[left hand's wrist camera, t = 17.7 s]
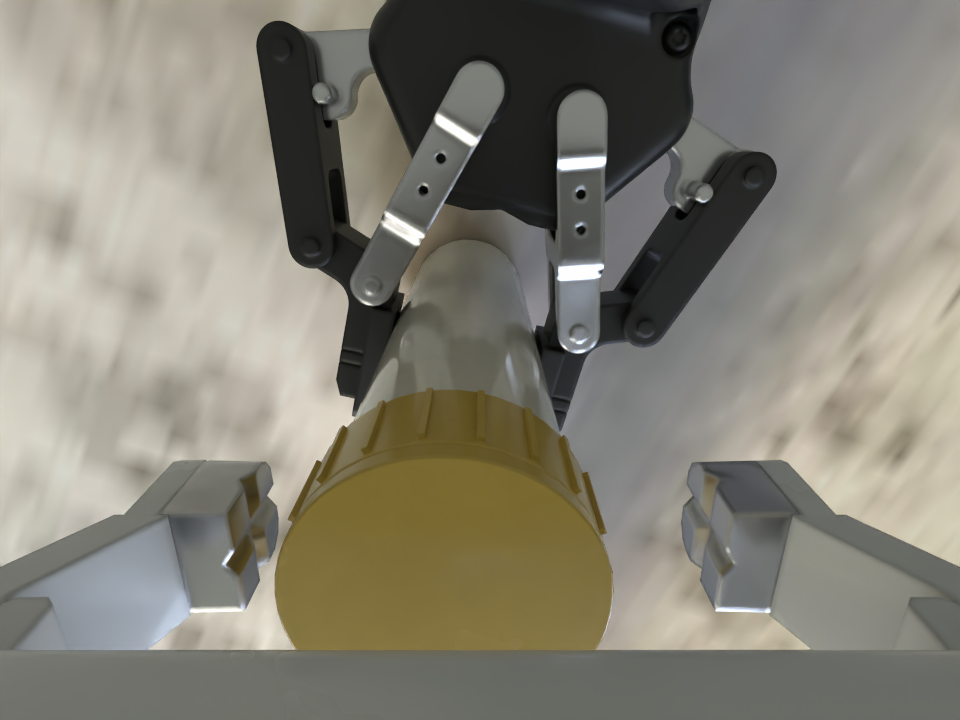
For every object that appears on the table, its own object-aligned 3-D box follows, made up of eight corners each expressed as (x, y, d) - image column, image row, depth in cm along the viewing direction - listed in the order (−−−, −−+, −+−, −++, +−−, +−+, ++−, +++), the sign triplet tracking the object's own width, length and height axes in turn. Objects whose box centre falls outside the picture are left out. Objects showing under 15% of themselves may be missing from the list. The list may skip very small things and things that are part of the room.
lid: (352, 639, 11) (326, 746, 9) (269, 414, 10) (215, 487, 8) (607, 600, 11) (635, 702, 9) (569, 358, 9) (594, 419, 7)
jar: (452, 217, 23) (397, 389, 8) (542, 278, 24) (650, 541, 9) (395, 306, 25) (251, 602, 9) (482, 361, 26) (484, 716, 10)
